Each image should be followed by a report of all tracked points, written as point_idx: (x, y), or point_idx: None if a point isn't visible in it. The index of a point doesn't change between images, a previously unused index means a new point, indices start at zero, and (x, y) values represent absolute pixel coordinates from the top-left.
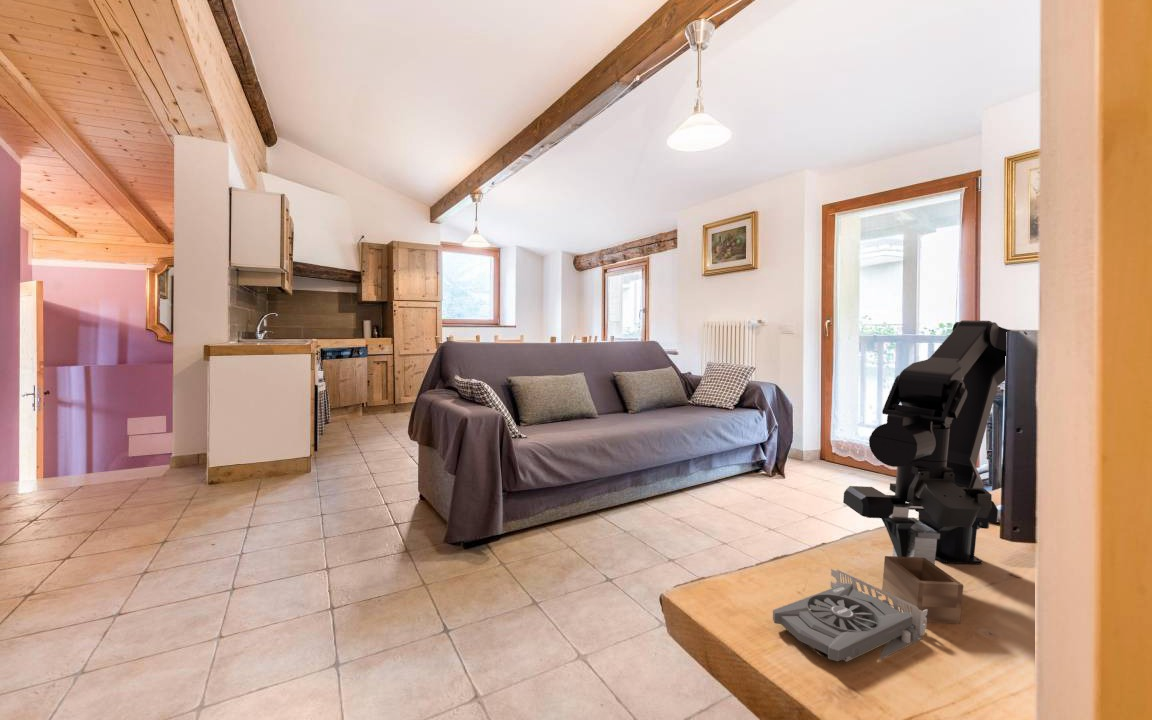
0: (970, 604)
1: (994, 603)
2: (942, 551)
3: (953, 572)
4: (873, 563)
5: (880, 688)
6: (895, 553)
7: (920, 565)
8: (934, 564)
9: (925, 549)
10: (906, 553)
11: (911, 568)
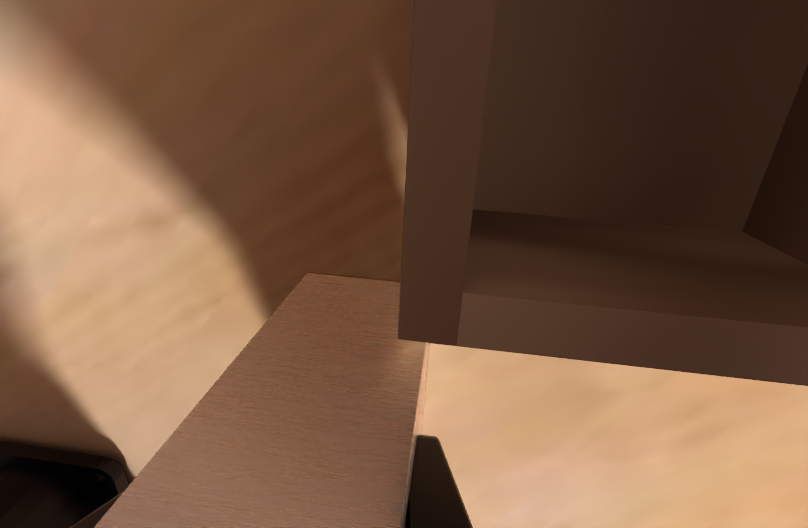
0: (201, 71)
1: (48, 88)
2: (71, 517)
3: (110, 387)
4: (478, 484)
5: None
6: None
7: (490, 260)
8: (241, 352)
9: (270, 476)
10: (413, 482)
11: (584, 255)
